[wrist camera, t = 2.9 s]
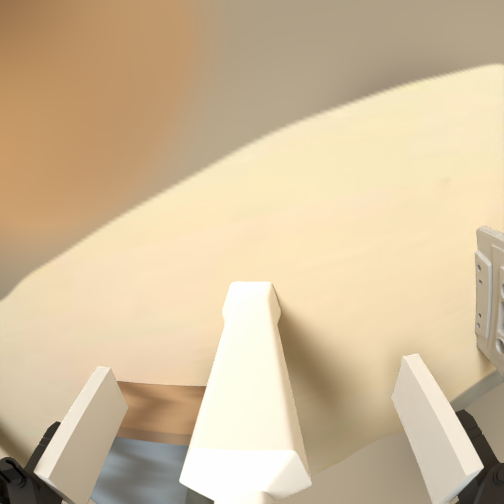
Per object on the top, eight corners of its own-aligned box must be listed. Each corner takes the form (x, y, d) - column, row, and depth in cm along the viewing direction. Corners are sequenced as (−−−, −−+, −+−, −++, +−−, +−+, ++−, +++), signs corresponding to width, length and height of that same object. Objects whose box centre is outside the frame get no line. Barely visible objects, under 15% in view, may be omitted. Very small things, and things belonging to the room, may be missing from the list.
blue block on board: (131, 452, 26) (108, 520, 16) (90, 377, 22) (42, 459, 13) (236, 461, 25) (231, 541, 16) (219, 386, 22) (204, 497, 12)
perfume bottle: (218, 335, 20) (178, 554, 6) (214, 277, 19) (142, 521, 4) (285, 335, 20) (310, 557, 6) (288, 277, 18) (339, 528, 4)
